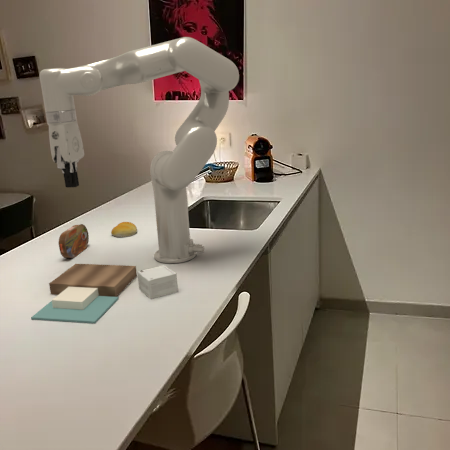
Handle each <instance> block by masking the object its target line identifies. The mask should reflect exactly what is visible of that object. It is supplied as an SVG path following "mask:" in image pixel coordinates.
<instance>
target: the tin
mask: <svg viewBox="0 0 450 450" xmlns="http://www.w3.org/2000/svg"><path fill="white" fill-rule="evenodd" d="M88 231H89V230H88V229H87V227H86V225H85V224H82V223H80V224H74V225H72V226H71V227H69V228H67V229H66V230H65V231H63V232H62V233H61V234H60V235H59V238H58V248H59V252H60V255H61V257H63V258H64V259H74V258H76V257H78V256H79V255H80V254H81V253H82V252H84V251H85V250H86V249H87V247H88V245H89V242H90V241H89V240H90V239H89V238H90V236H89V232H88Z"/></svg>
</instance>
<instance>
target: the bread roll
mask: <svg viewBox="0 0 450 450" xmlns="http://www.w3.org/2000/svg"><path fill="white" fill-rule="evenodd" d="M137 232H138V228H137V226H136V225H135V223H133V222H130V221H123V222H122V221H121V222H119V223H118V224H117V225H116V226H114V227H113V228H112V229H111V232H110V234H111V236H113V237H115V238H128V237H132V236H134V235H135V234H136V233H137Z"/></svg>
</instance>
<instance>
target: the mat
mask: <svg viewBox="0 0 450 450" xmlns="http://www.w3.org/2000/svg"><path fill="white" fill-rule="evenodd" d="M118 300H119V296H117V297H110V296H98V297H97V298H95V299H94V300H93V301H92V302H91V303H90V304H89V305H88V306H87V307H86V308H85V309H84V310H80V309H64V308H53V305H52V300H50V302H48V303H46V305H44V307H42V308H41V309H39V310H38V311H37V312H36V313H34V314H33V315H32V316H31V320H35V321H50V322H51V321H53V322H64V323H65V322H66V323H80V324H81V323H82V324H96V323H97V322H98V321H99V320H100V319H101V318H102V317H103V316H104V315H105V314H106V313H107V311H108V310H109V309H111V308H112V306H114V304H116V302H118Z"/></svg>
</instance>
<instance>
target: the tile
mask: <svg viewBox="0 0 450 450" xmlns="http://www.w3.org/2000/svg"><path fill="white" fill-rule="evenodd" d="M98 296H99V294H98V288H86V287H68V288H66V289H65V290H64V291H63V292H61V293H60V294H59V295H56V296H55V297H53V298H52V299H51V301H52V305H53V308H64V309H80V310H84V309H85V308H86V307H87V306H88V305H89V304H90V303H91V302H92V301H93V300H94V299H95V298H97V297H98Z"/></svg>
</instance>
